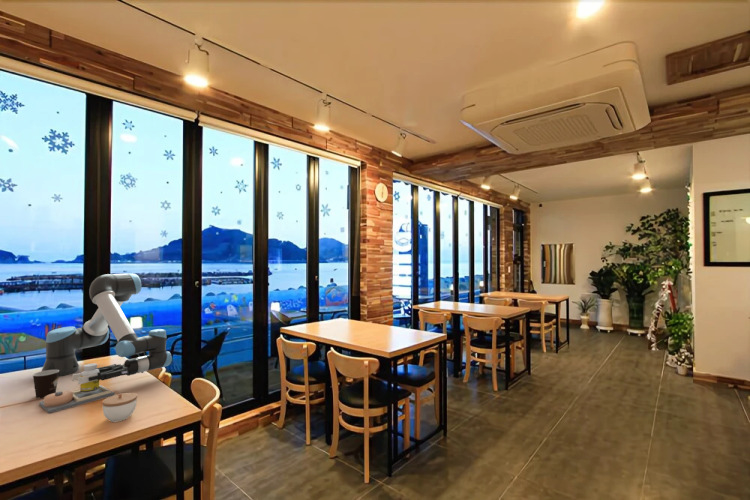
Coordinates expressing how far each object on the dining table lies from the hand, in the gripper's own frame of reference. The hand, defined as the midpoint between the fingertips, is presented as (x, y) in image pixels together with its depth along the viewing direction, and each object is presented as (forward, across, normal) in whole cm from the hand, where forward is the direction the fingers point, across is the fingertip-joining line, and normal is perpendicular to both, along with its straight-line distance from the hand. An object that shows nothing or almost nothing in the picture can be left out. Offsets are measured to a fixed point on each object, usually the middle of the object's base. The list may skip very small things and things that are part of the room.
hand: (75, 379), depth 151 cm
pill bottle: (-5, 0, -7) cm, 8 cm away
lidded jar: (-4, -35, -9) cm, 36 cm away
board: (-1, 0, -9) cm, 9 cm away
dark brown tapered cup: (+4, +19, -9) cm, 22 cm away
